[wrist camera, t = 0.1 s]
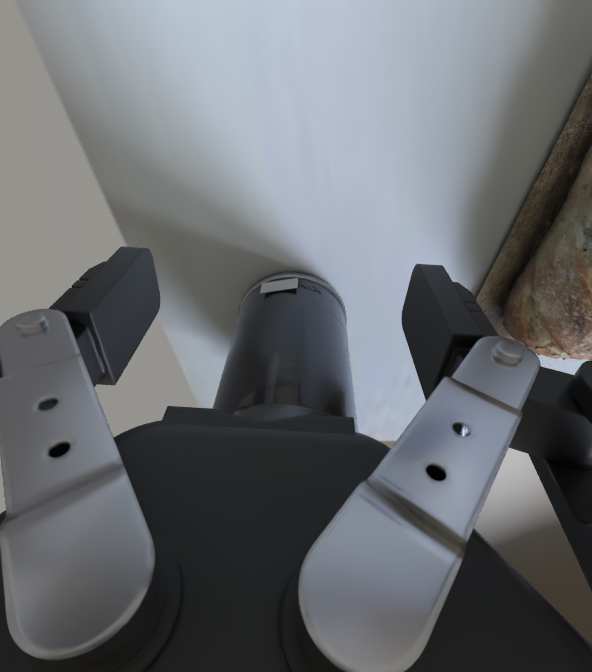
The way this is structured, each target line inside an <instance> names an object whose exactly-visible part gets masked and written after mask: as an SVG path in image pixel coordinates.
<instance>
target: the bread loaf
mask: <svg viewBox="0 0 592 672" xmlns="http://www.w3.org/2000/svg"><path fill="white" fill-rule="evenodd" d="M571 191H572V192H571ZM591 241H592V74H591V76H590V78H589V80H588V82H587V84H586V85H585V87H584V89H583V91H582V93H581V95H580V97H579V99H578V101H577V103H576V105H575V107H574V109H573V111H572V113H571V115H570V117H569V119H568V121H567V123H566V125H565V128H564V129H563V131H562V133H561V135H560V137H559V139H558V140H557V142H556V144H555V146H554V148H553V150H552V152H551V154H550V156H549V158H548V160H547V162H546V164H545V166H544V168H543V170H542V172H541V174H540V176H539V177H538V179H537V181H536V183H535V185H534V187H533V188H532V190H531V192H530V194H529V196H528V198H527V200H526V202H525V204H524V206H523V208H522V210H521V212H520V214H519V216H518V218H517V220H516V222H515V224H514V226H513V228H512V230H511V232H510V234H509V236H508V237H507V239H506V241H505V243H504V245H503V247H502V249H501V251H500V253H499V255H498V257H497V259H496V261H495V263H494V265H493V267H492V269H491V270H490V272H489V274H488V277H487V279H486V281H485V283H484V285H483V286H482V288H481V290H480V292H479V294H478V296H477V298H476V301H477V304H479V305H480V307H481V308H482V310H483V313H485V314H486V316H487V318H488V319H489V321H490V322H491V324H492V325H493V327H494V328H495V330H496V331H497V333H498V335H499V336H500V337H505V338H509V339H512V340H515V341H517V342H519V343H521V344H523V345H525V346H526V347H528V348H529V349H531V350H532V351H533V352H534V353H535V354H538V355H540V354H541V355H545V356H548V357H551V358H560V357H562V358H563V360H564V359H579V360H583V359H589V360H592V243H591ZM585 249H586V251H583V250H585ZM540 255H541V256H540ZM548 360H549V359H548Z"/></svg>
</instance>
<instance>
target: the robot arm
mask: <svg viewBox="0 0 592 672" xmlns="http://www.w3.org/2000/svg"><path fill="white" fill-rule="evenodd" d="M159 307H160V292H159V287H158V282H157V277H156V272H155V267H154V262H153V257H152V254H151V251H150V250H149V249H148V248H137V247H120V248H119V249H118V250H117V251H116V252H115V253H114V254H113V255H112V256H111V257H110V258H109V259H108V261H107V262H102V263H100V264H98V265H96V266H94V267H92V268H90V269H89V270H88V271H87V272H86V273H85V274H84V275H83V276H81V277H80V279H79V281H76V282H75V283H74V284H73V285H72V288H69V289H68V290H67V291H66V292H65V293H64V294H63V295H62V296H61V297H60V298H59V299H58V300H57V301H56V302H55V303H54V304H53V305H52V306H51V307H50V308H49V309H38V310H32V311H28V312H25V313H21V314H19V315H16V316H14V317H12V318H10V319H9V320H7V321H6V322H5V323H3V324H2V325H1V326H0V458H1V468H2V477H3V486H4V496H5V504H6V510H5V511H4V512H2V513H1V514H0V672H592V645H591V644H590V643H589V642H588V641H587V640H586V639H585V638H584V637H582V635H581V634H580V633H579V632H578V631H577V630H576V629H574V628H573V627H572V625H570V624H569V622H567V620H565V619H564V617H563V616H562V615H560V613H558V611H557V610H556V609H554V607H552V606H551V605H550V604H549V603H548V602H547V601H546V600H545V599H544V598H543V597H542V596H541V595H540V594H539V593H538V592H537V591H536V590H535V589H534V588H533V587H532V586H531V585H530V584H529V583H528V582H527V581H526V580H525V579H524V578H523V577H522V576H521V575H520V574H519V573H518V572H517V571H516V570H515V569H514V568H513V567H512V566H511V565H510V564H509V563H508V562H507V561H506V560H505V559H504V558H503V557H502V556H501V555H500V554H499V553H498V552H497V551H496V550H495V549H494V548H493V547H492V546H491V545H490V544H489V543H488V542H487V541H486V540H485V539H484V538H483V537H482V536H481V535H480V534H479V533H478V532H477V531H476V530H475V529H474V526H475V523H476V521H477V519H478V516H479V514H480V512H481V509H482V507H483V505H484V503H485V500H486V498H487V496H488V493H489V491H490V488H491V486H492V484H493V482H494V480H495V477H496V475H497V473H498V470H499V468H500V466H501V463H502V461H503V459H504V457H505V454H506V452H507V450H508V447H509V448H512V449H515V450H519V451H522V452H525V453H528V454H529V456H530V458H531V460H532V463H533V465H534V467H535V469H536V471H537V474H538V476H539V478H540V480H541V482H542V484H543V486H544V489H545V491H546V493H547V495H548V497H549V500H550V501H551V504H552V506H553V508H554V510H555V513H556V515H557V517H558V519H559V521H560V523H561V525H562V528H563V530H564V532H565V534H566V536H567V538H568V541H569V543H570V545H571V547H572V549H573V551H574V554H575V556H576V558H577V560H578V562H579V564H580V567H581V569H582V571H583V573H584V575H585V577H586V579H587V582H588V584H589V586H590V588H591V590H592V361H587V362H584V363H583V364H582V365H581V366H580V368H579V369H578V370H577V372H576V373H575V375H571V374H567V373H563V372H560V371H556V370H552V369H548V368H544V367H541V366H540V360H539V358H538V357H537V355H536V354H535V353H534V352H533V351H532V350H531V349H529V348H528V347H526V346H525V345H523V344H521V343H519V342H517V341H515V340H512V339H509V338H505V337H500V336H499V335H498V333H497V331H496V330H495V328H494V327H493V325H492V324H491V322H490V321H489V319H488V318H487V316H486V314H485V313H483V310H482V308H481V307H480V305H479V304H477V301H476V299H475V298H474V296H473V294H472V293H471V292H470V291H469V290H468V289H466V288H465V287H464V286H462V285H461V284H459V283H458V282H452V280H451V278H450V277H449V275H448V273H447V272H446V270H445V268H444V267H443V266H442V265H426V264H416V265H415V267H414V269H413V272H412V275H411V279H410V283H409V287H408V291H407V294H406V298H405V302H404V306H403V310H402V327H403V330H404V334H405V337H406V340H407V343H408V346H409V349H410V352H411V355H412V359H413V362H414V365H415V368H416V371H417V374H418V377H419V380H420V384H421V387H422V390H423V393H424V396H425V399H426V402H425V404H424V405H423V406H422V408H421V409H420V410H419V412H418V413H417V414H416V416H415V417H414V418H413V420H412V421H411V422H410V424H409V425H408V426H407V428H406V429H405V430H404V432H403V433H402V435H401V436H400V437H399V439H398V440H397V441H396V443H395V444H394V445H393V447H392V448H389V447H388V446H386V445H385V444H383V443H381V442H379V441H377V440H375V439H373V438H371V437H369V436H366V435H364V434H361V433H358V424H357V416H356V407H355V399H354V390H353V382H352V373H351V365H350V356H349V348H348V338H347V330H346V312H345V307H344V304H343V302H342V300H341V298H340V296H339V295H338V293H337V292H336V291H335V290H334V289H333V288H332V287H331V286H330V285H329V284H327V283H326V282H324V281H323V280H321V279H319V278H317V277H314V276H312V275H308V274H304V273H298V272H283V273H278V274H274V275H271V276H268V277H266V278H264V279H262V280H260V281H258V282H257V283H256V284H254V285H253V286H252V287H251V288H250V289H249V290H248V292H247V293H246V294H245V296H244V298H243V300H242V302H241V306H240V309H239V314H238V321H237V324H236V328H235V331H234V334H233V338H232V341H231V345H230V349H229V352H228V356H227V359H226V363H225V366H224V370H223V373H222V377H221V381H220V384H219V388H218V391H217V395H216V398H215V402H214V406H213V409H208V408H191V407H175V406H168V407H167V409H166V412H165V414H164V417H163V419H162V421H156V422H151V423H147V424H144V425H141V426H138V427H135V428H132V429H130V430H128V431H126V432H123V433H121V434H120V435H118V436H116V437H113V435H112V432H111V429H110V427H109V424H108V422H107V419H106V416H105V414H104V411H103V409H102V406H101V404H100V401H99V398H98V396H97V393H96V391H95V388H94V387H95V386H96V384H102V385H116V383H117V381H118V379H119V378H120V376H121V374H122V373H123V371H124V369H125V368H126V366H127V364H128V363H129V361H130V359H131V357H132V356H133V354H134V352H135V351H136V349H137V347H138V346H139V344H140V342H141V341H142V339H143V337H144V335H145V334H146V332H147V330H148V329H149V327H150V325H151V324H152V322H153V320H154V319H155V317H156V315H157V313H158V311H159Z"/></svg>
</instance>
